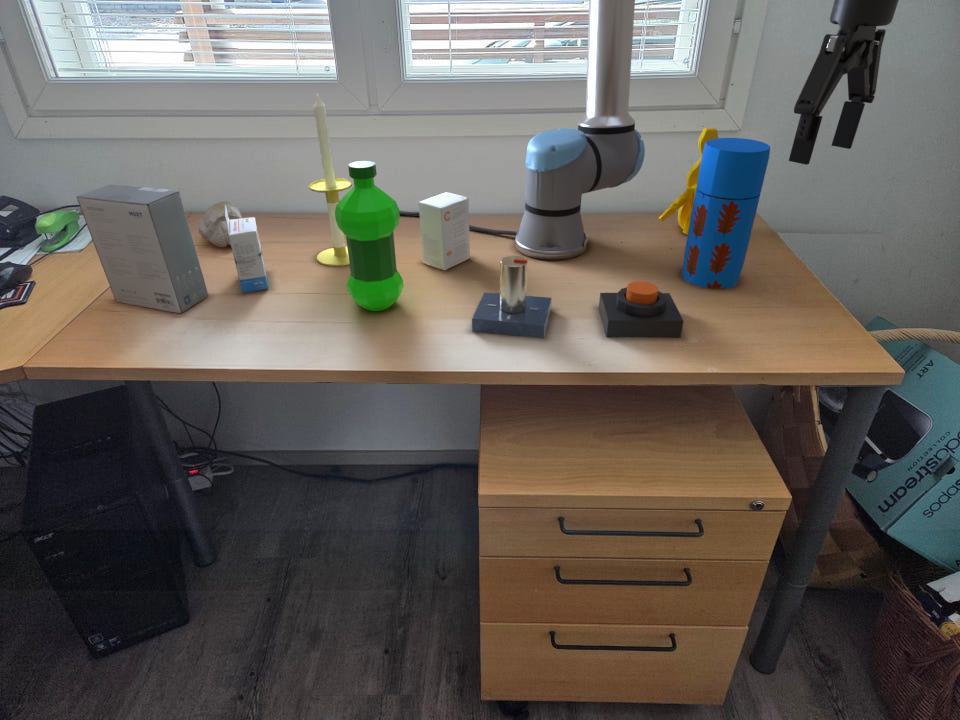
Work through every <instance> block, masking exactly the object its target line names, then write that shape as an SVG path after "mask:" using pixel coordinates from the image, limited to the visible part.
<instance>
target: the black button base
mask: <svg viewBox="0 0 960 720" xmlns="http://www.w3.org/2000/svg"><path fill="white" fill-rule="evenodd" d="M626 293H627V286H626V287H622V288H620V290H619V291H617V292H600V293H599V301H598V312H599V316H600V320H601V323H602V326H603V330H604V333H605V337H606V338H645V339H646V338H647V339H648V338H653V339H654V338H656V339H657V338H659V339H660V338H662V339H669V338H670V339H681V336H682V332H683V327H684V321H685V320H684V318H683V317H682V315H681V313H680V311H679V309H678V307H677V305H676V303H675V301H674V299H673V297H672V295H671V293H670V292H661V291H660V290H658V296H657V301H656V302H655V303H652V304H637V303H633V302H630V301H629V300H627V299H626Z"/></svg>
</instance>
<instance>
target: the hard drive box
mask: <svg viewBox="0 0 960 720" xmlns="http://www.w3.org/2000/svg"><path fill="white" fill-rule="evenodd" d="M76 200H77V202H78V205H79V208H80V211H81V213H82V216H83V218H84V222H85V224H86V226H87V229H88V232H89V234H90V237H91V239H92V243H93V245H94V248H95V251H96V253H97V256H98V258H99V261H100V263H101V267H102V269H103V272H104V274H105V277H106V280H107V282H108V285H109V288H110V290H111V294H112V296H113V298H114V301H115V302H117V303H122V304H126V305H131V306H138V307H142V308H143V307H144V308H150V309H153V310H154V309H156V310H159V311H163V312H171V313H176V314H181V313H184V312H185V311H186V310H188V309H190V308H191V307H193V306H195V305H196V304H197V303H200V302H201V301H203V300H205V299H206V298H208V297H209V291H208V287H207V286H206V282H205V277H204V274H203V270H202V268H201V264H200V259H199V257H198V253H197V249H196V246H195V243H194V239H193V236H192V232H191V229H190V225H189V222H188V218H187V214H186V211H185V208H184V205H183V200H182V197H181V193H180V190H176V189H172V190H171V189H167V188H166V189H165V188H156V187H143V186H130V185H123V184H122V185H120V184H108V185H105V186H101V187H99V188H96V189H93V190H90V191H88V192H84V193H81V194H79V195H76Z"/></svg>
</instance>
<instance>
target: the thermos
mask: <svg viewBox="0 0 960 720" xmlns="http://www.w3.org/2000/svg"><path fill="white" fill-rule="evenodd" d="M770 154H771V146H770V145H769V144H768V143H766V142H763V141H760V140H755V139H752V138H751V139H750V138H744V137H743V138H742V137H718V138H716V139H711V140H708V141H707V142H706V144H705V147H704V150H703V154H702V160H701V165H700V171H699V176H698V182H697V188H696V193H695V198H694V204H693V209H692V215H691V220H690V226H689V231H688V235H687V236H686V243H685V247H684V248H685V249H684V253H683V261H682V262H683V263H682V269H681V276H682V278H683V279H684V280H685V281H686V282H687V283H689V284H691V285H693V286H697V287H700V288H703V289H711V290H723V289H730V288H733V287H735V286H737V285H738V283H739V280H740V277H741V274H742V272H743V271H742V270H743V267H744V264H745V260H746V258H747V257H746V256H747V252H748V248H749V243H750V240H751V235H752V231H753V227H754V223H755V218H756V214H757V211H758V206H759V201H760V199H761V193H762V189H763V185H764V181H765V177H766V172H767V168H768V165H769V160H770Z"/></svg>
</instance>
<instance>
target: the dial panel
mask: <svg viewBox="0 0 960 720" xmlns="http://www.w3.org/2000/svg"><path fill="white" fill-rule="evenodd" d="M551 310H552V297H546V296H545V297H544V296H534V295H526V309H525V310H524V311H523V312H520V313H506V312H504V311H502V310H501V309H500V292H489V291H488V292H486V291H484V292H483V293H482V296H481V298H480V300H479V302H478V304H477V307H476V309H475V311H474V313H473V316H472V317H471V331H472V332H473V333H485V334H494V335H505V336H514V337H527V338H535V339H536V338H537V339H545V335H546V330H547V327H548V323H549V320H550V319H549V318H550V315H551Z"/></svg>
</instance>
